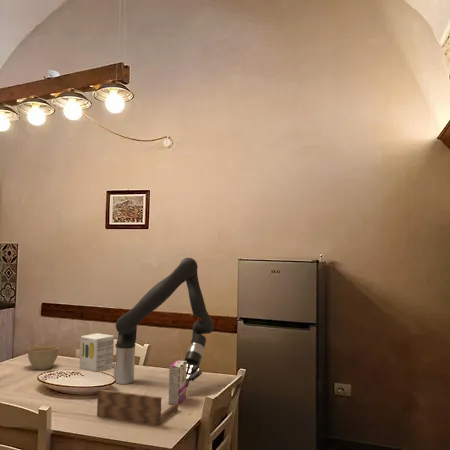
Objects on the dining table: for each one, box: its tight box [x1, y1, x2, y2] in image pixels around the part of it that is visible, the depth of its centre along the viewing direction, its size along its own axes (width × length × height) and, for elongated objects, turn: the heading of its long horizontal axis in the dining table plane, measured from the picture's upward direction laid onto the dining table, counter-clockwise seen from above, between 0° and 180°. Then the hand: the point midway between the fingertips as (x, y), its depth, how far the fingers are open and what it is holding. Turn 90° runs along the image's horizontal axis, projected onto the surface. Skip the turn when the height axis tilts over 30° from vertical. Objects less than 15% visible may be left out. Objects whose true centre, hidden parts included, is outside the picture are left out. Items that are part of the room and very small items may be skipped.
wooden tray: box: [96, 389, 179, 426], centre depth 190 cm, size 27×18×10 cm, turn 72°
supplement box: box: [79, 332, 115, 372], centre depth 259 cm, size 13×13×18 cm
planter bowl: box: [27, 344, 60, 371], centre depth 256 cm, size 16×16×11 cm
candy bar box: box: [168, 360, 187, 406], centre depth 207 cm, size 11×5×16 cm, turn 168°
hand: (183, 387), depth 213 cm, fingers closed
